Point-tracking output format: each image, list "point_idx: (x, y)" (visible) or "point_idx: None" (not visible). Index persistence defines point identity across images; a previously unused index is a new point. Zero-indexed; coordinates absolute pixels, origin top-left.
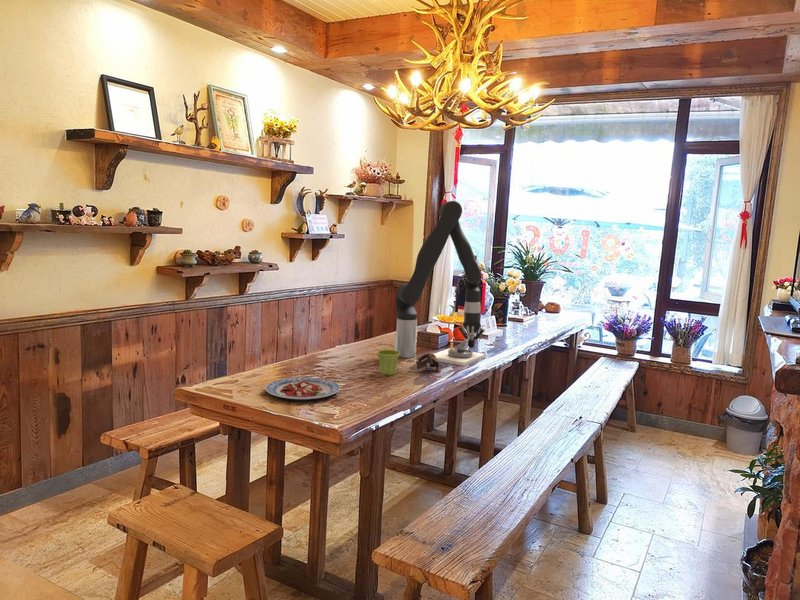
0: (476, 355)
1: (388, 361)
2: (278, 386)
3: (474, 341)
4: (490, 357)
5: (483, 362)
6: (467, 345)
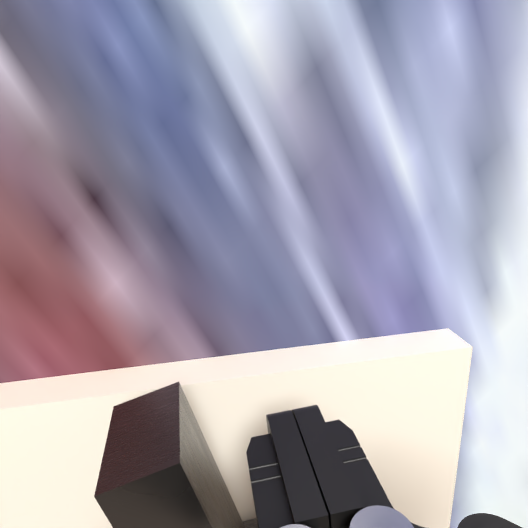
0: (409, 481)
1: None
2: None
3: (381, 505)
4: (498, 284)
5: (499, 510)
6: (182, 402)
